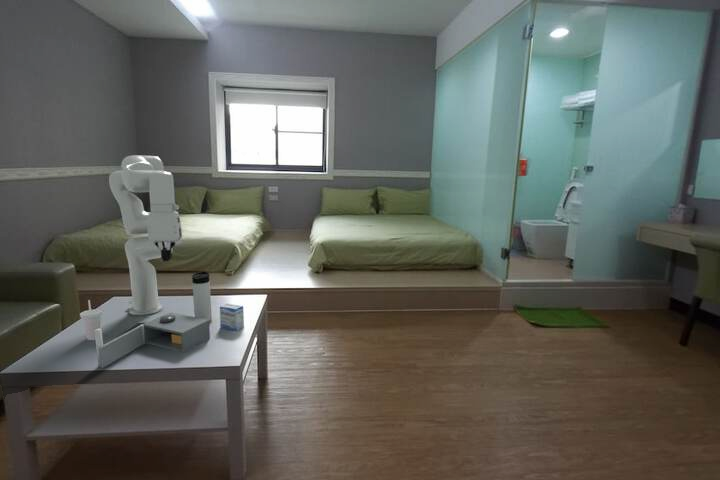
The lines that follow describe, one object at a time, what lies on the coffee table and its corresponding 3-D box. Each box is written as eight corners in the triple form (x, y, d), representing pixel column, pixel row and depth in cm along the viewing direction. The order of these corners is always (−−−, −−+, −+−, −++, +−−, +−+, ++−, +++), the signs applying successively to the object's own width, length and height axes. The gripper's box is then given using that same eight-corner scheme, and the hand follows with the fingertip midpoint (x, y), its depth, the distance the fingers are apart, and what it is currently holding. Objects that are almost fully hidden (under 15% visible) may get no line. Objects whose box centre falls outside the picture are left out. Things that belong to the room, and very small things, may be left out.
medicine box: (220, 328, 150) (218, 306, 148) (227, 323, 154) (226, 302, 152) (237, 331, 147) (236, 309, 146) (244, 326, 151) (243, 305, 150)
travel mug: (215, 318, 158) (212, 271, 155) (207, 325, 152) (204, 275, 148) (200, 318, 159) (197, 270, 155) (191, 324, 153) (188, 275, 149)
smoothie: (102, 332, 144) (97, 296, 141) (106, 338, 139) (102, 300, 137) (81, 337, 140) (76, 300, 137) (84, 343, 135) (80, 305, 132)
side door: (138, 342, 136) (135, 310, 134) (145, 343, 136) (142, 310, 134) (95, 367, 119) (91, 331, 117) (103, 368, 119) (99, 332, 116)
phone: (156, 322, 153) (135, 338, 138) (156, 324, 153) (135, 341, 138) (137, 322, 153) (114, 338, 138) (138, 324, 153) (114, 340, 138)
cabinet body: (144, 343, 136) (142, 321, 135) (172, 330, 147) (170, 309, 146) (184, 352, 130) (182, 329, 128) (210, 338, 141) (208, 317, 139)
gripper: (189, 207, 138) (192, 257, 141) (144, 206, 136) (148, 257, 140) (182, 210, 131) (185, 263, 134) (135, 209, 129) (139, 263, 132)
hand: (166, 260), depth 137 cm, fingers closed
